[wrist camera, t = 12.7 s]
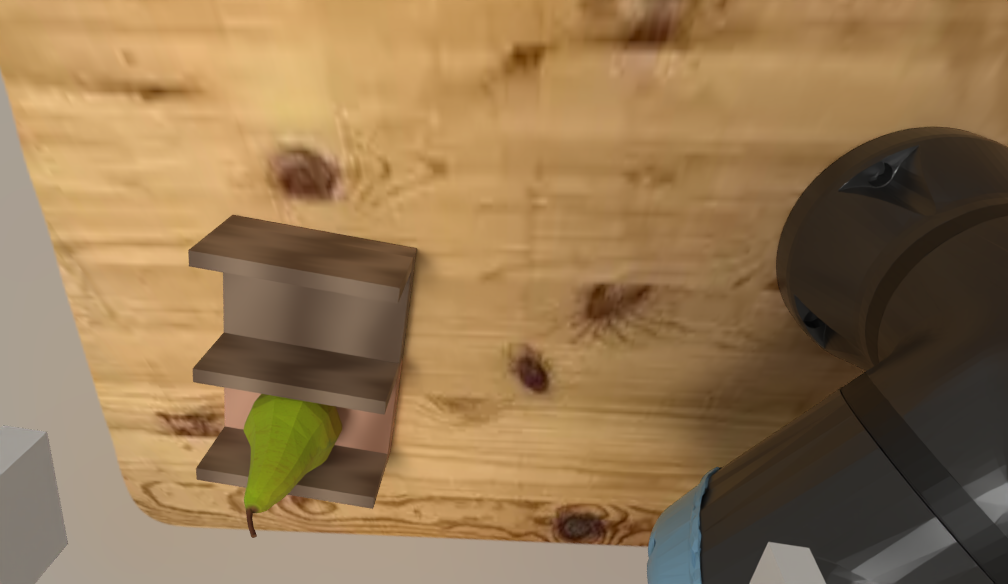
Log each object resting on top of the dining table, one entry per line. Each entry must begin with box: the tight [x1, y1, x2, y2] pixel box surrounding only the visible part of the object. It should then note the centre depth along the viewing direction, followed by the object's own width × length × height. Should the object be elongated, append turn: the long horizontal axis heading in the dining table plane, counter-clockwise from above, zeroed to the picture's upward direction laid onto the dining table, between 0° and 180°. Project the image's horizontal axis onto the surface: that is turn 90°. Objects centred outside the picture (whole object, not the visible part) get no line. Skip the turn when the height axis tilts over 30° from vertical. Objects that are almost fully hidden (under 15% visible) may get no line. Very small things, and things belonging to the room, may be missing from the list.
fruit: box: [244, 394, 342, 538], centre depth 41 cm, size 6×6×12 cm
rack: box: [188, 215, 417, 509], centre depth 44 cm, size 12×17×6 cm
